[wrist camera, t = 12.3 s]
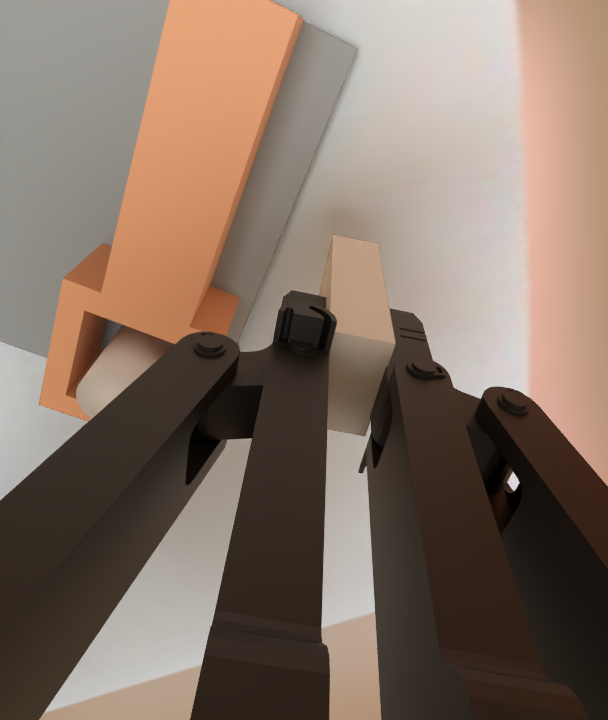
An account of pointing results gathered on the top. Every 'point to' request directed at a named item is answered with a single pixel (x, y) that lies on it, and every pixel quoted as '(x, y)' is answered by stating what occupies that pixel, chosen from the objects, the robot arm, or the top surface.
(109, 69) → the board
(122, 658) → the top surface
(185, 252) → the link
